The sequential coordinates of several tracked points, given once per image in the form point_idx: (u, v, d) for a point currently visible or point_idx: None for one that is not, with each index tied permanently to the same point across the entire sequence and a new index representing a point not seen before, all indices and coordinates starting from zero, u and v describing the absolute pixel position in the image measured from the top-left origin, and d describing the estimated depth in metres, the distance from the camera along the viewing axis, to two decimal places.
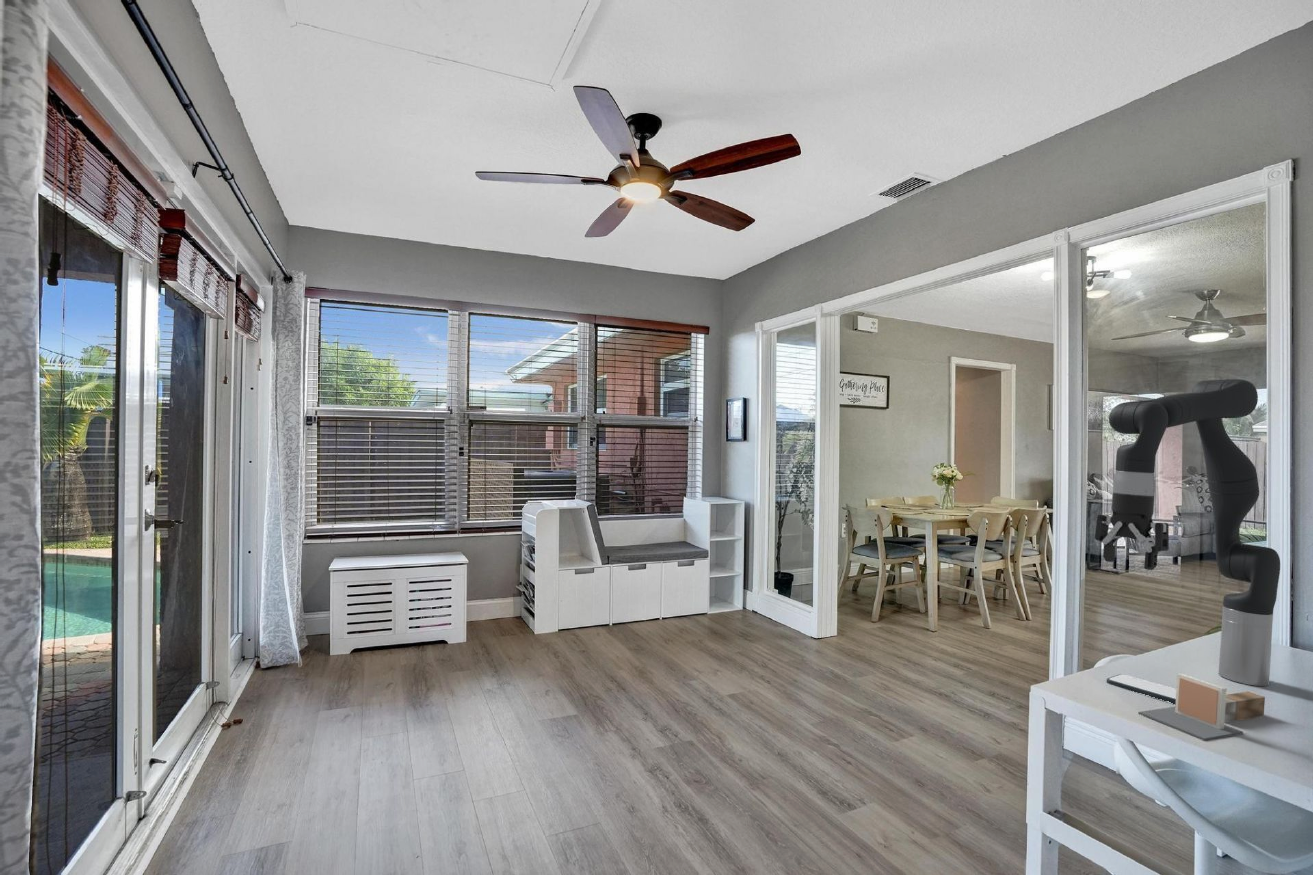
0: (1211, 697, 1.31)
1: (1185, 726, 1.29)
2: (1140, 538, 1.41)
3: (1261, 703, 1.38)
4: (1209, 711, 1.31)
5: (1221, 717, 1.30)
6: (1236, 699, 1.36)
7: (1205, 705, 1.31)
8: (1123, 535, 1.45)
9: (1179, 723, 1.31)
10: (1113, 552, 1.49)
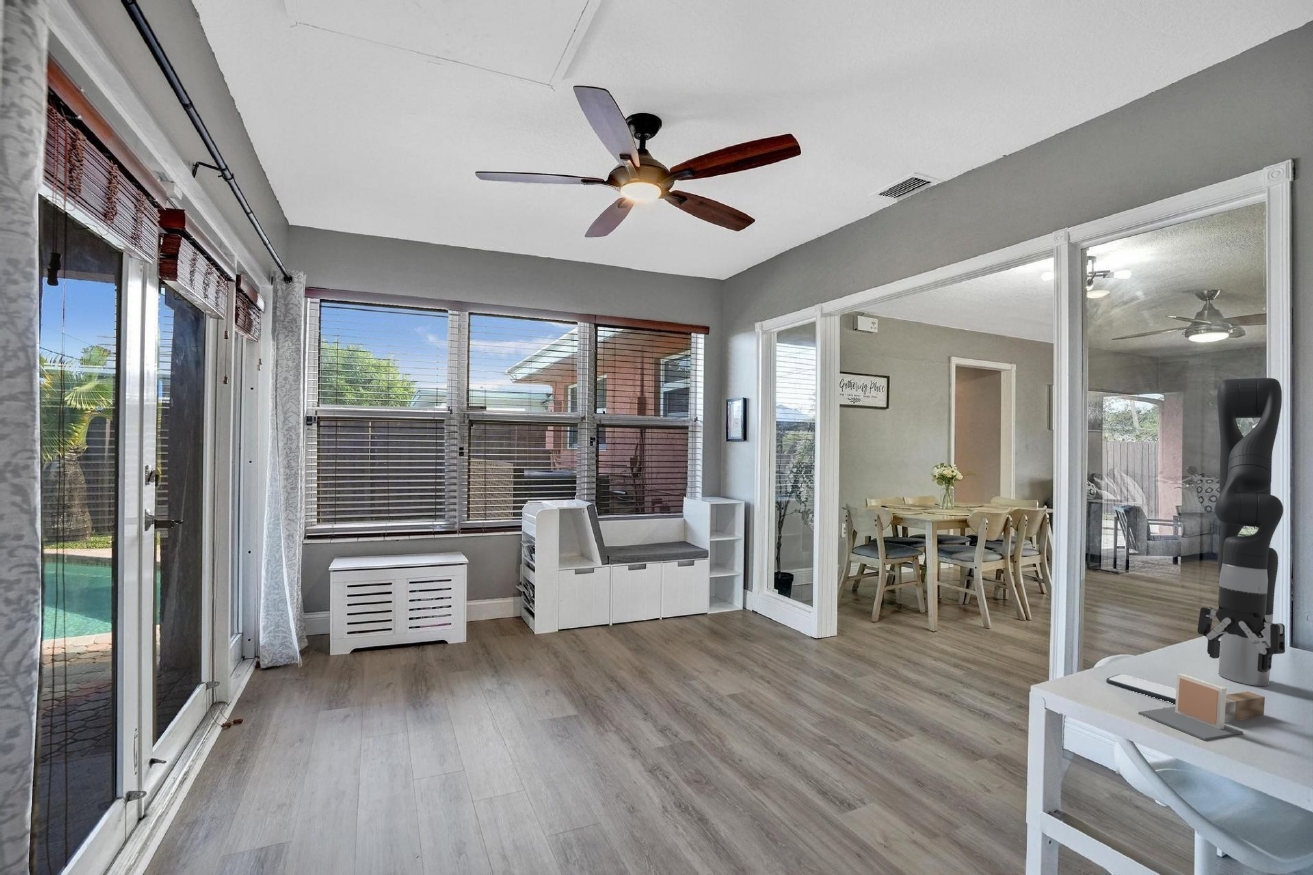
0: (1211, 697, 1.31)
1: (1185, 726, 1.29)
2: (1253, 638, 1.34)
3: (1261, 703, 1.38)
4: (1209, 711, 1.31)
5: (1221, 717, 1.30)
6: (1236, 699, 1.36)
7: (1205, 705, 1.31)
8: (1231, 632, 1.38)
9: (1179, 723, 1.31)
10: (1218, 648, 1.41)
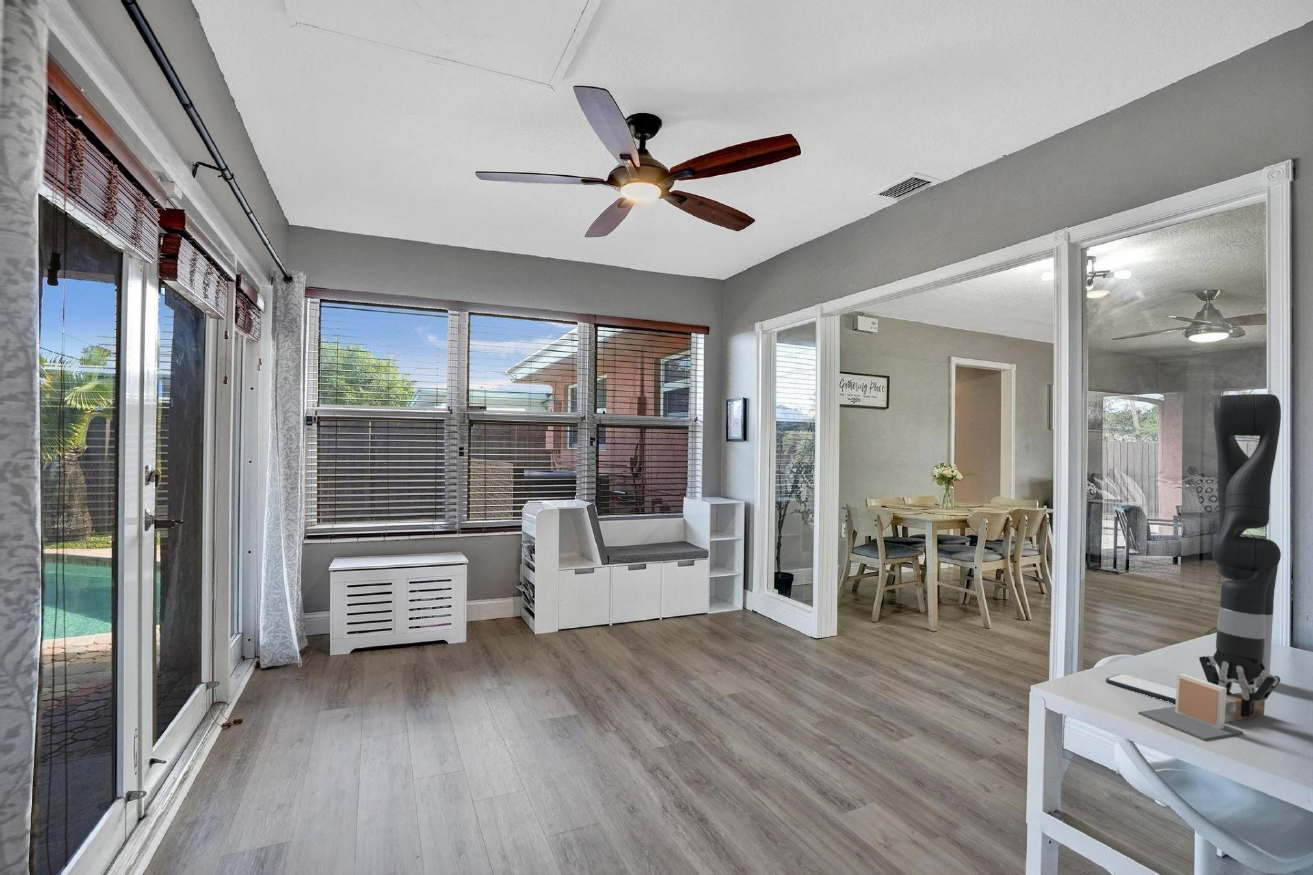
0: (1211, 697, 1.31)
1: (1185, 726, 1.29)
2: (1242, 684, 1.35)
3: (1262, 703, 1.38)
4: (1209, 711, 1.31)
5: (1221, 717, 1.30)
6: (1236, 699, 1.36)
7: (1205, 705, 1.31)
8: (1229, 676, 1.38)
9: (1179, 723, 1.31)
10: None
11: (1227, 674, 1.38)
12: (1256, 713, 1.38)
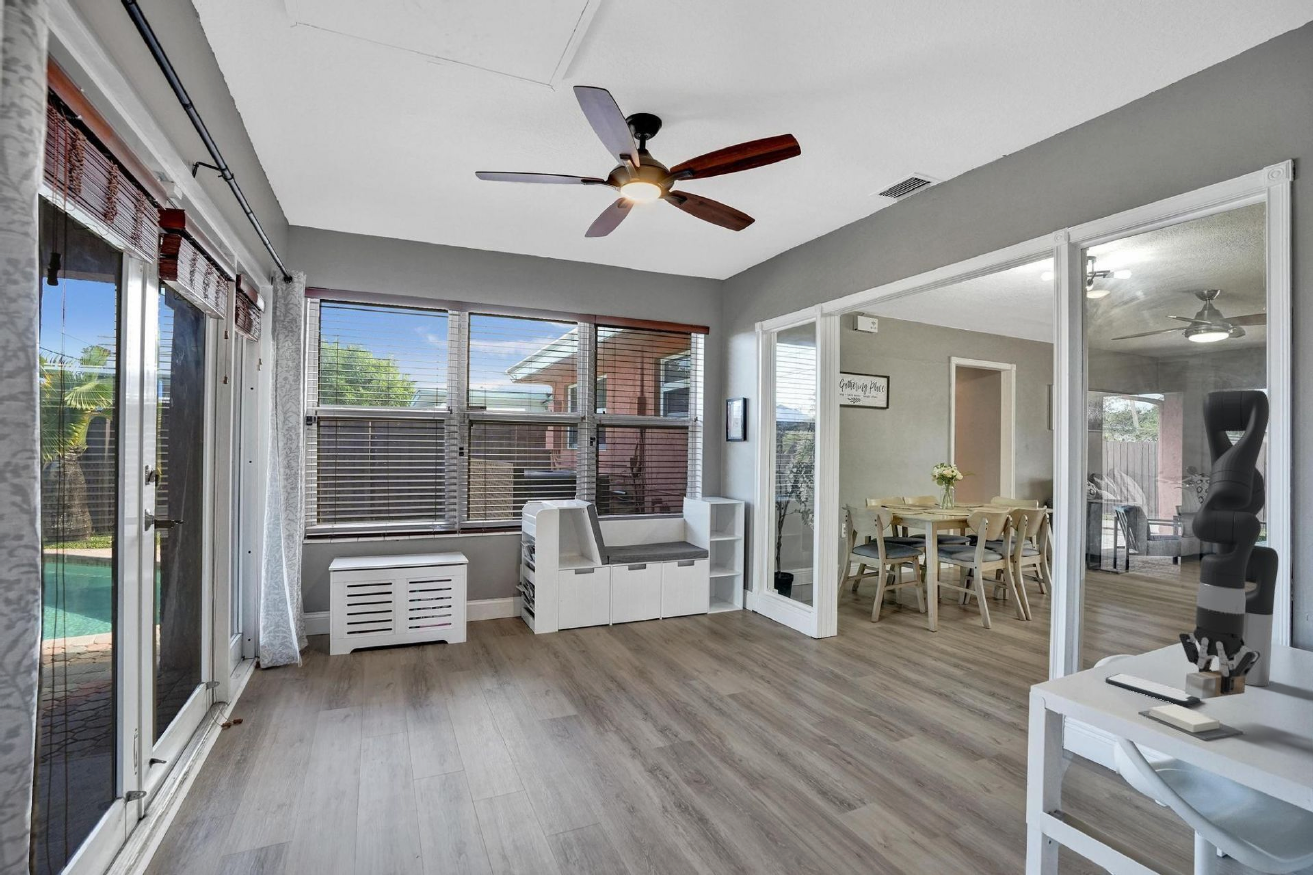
0: None
1: None
2: (1222, 660, 1.33)
3: (1242, 680, 1.36)
4: None
5: (1212, 726, 1.29)
6: (1216, 675, 1.34)
7: None
8: (1209, 652, 1.35)
9: None
10: None
11: (1207, 650, 1.35)
12: (1236, 690, 1.35)
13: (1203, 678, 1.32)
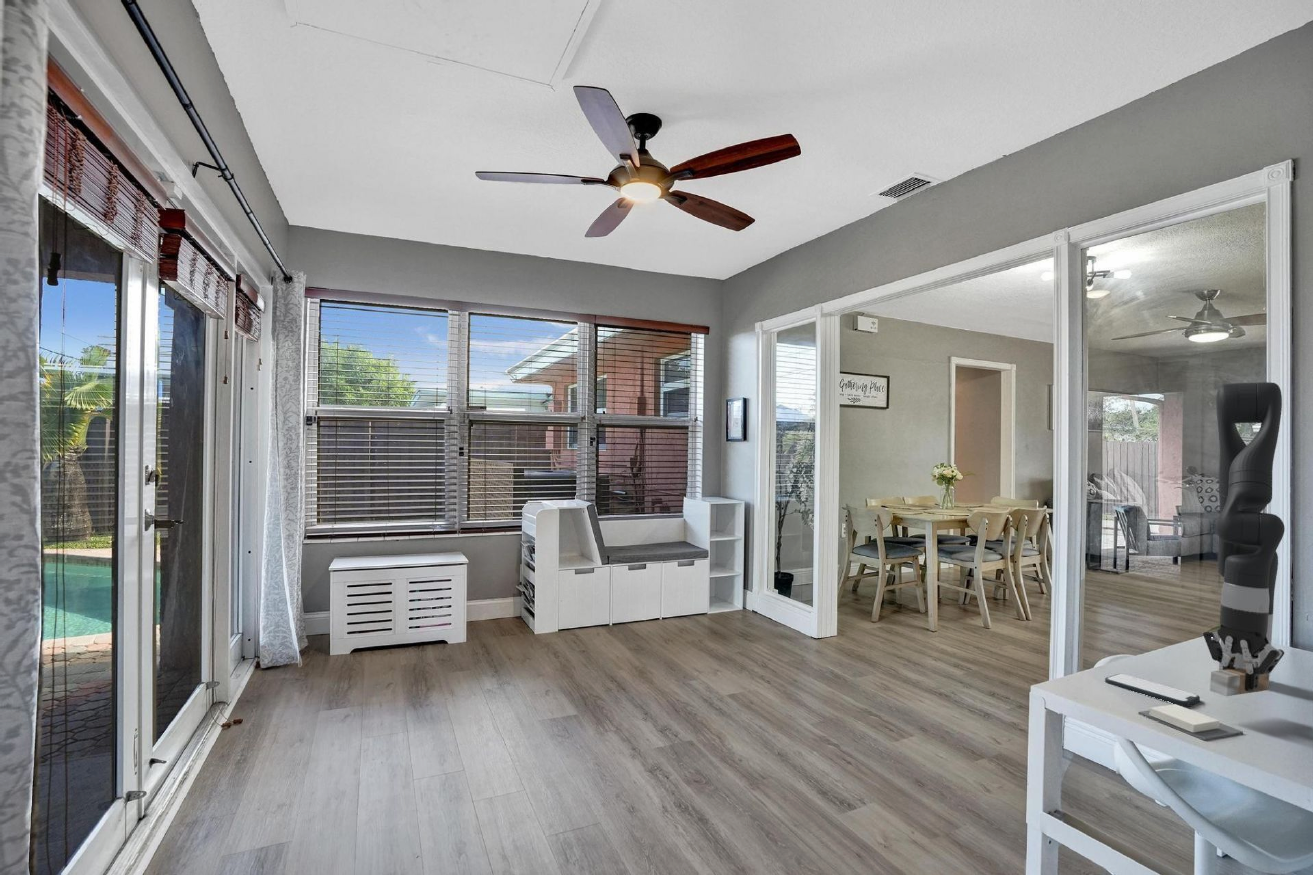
0: None
1: None
2: (1246, 658, 1.36)
3: (1265, 678, 1.39)
4: None
5: (1212, 726, 1.29)
6: (1240, 673, 1.37)
7: None
8: (1233, 650, 1.38)
9: None
10: None
11: (1231, 649, 1.38)
12: (1260, 687, 1.38)
13: (1228, 676, 1.35)
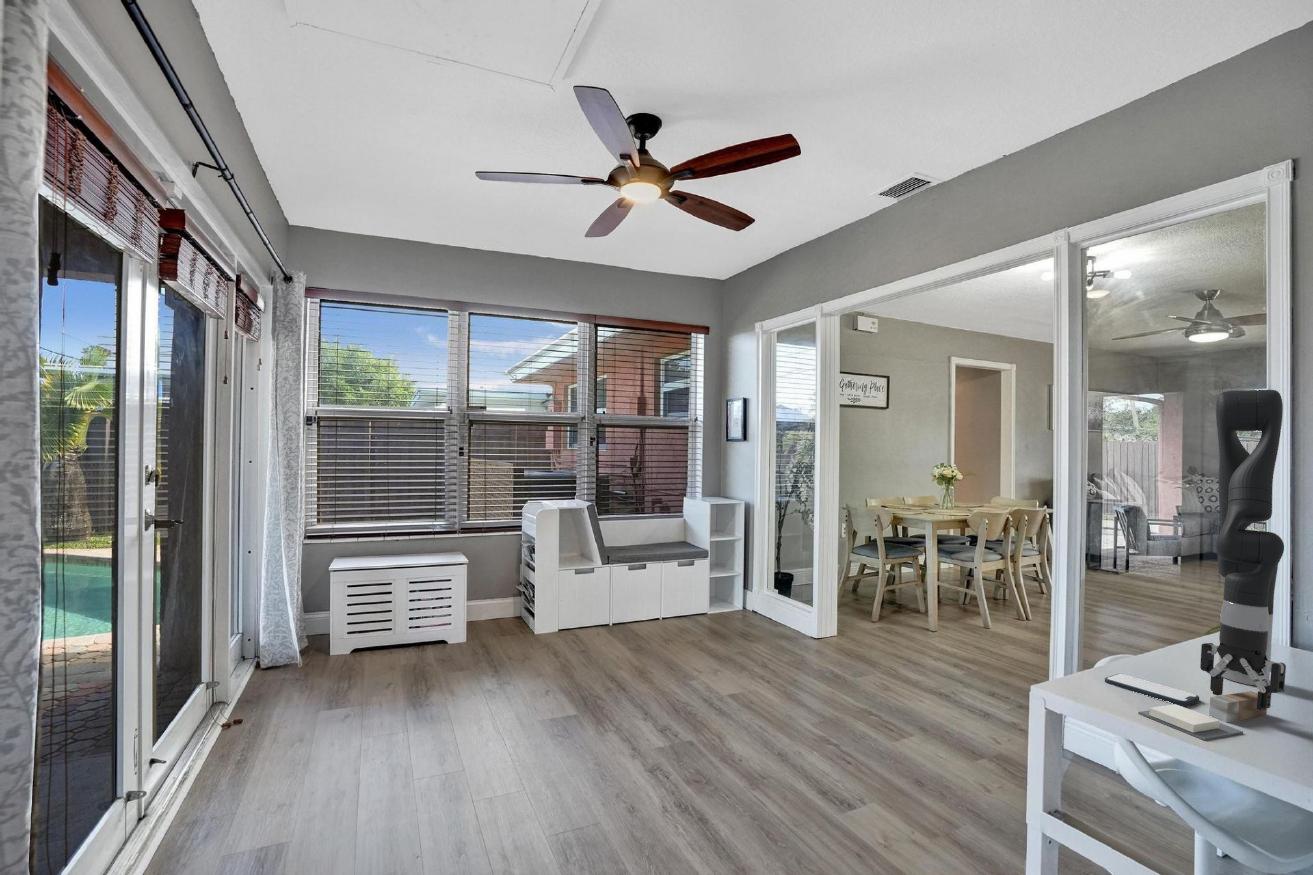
0: None
1: None
2: (1253, 676, 1.34)
3: None
4: None
5: (1212, 726, 1.29)
6: (1239, 699, 1.37)
7: None
8: (1233, 669, 1.38)
9: None
10: (1221, 685, 1.42)
11: (1226, 665, 1.39)
12: (1259, 713, 1.38)
13: (1227, 701, 1.35)
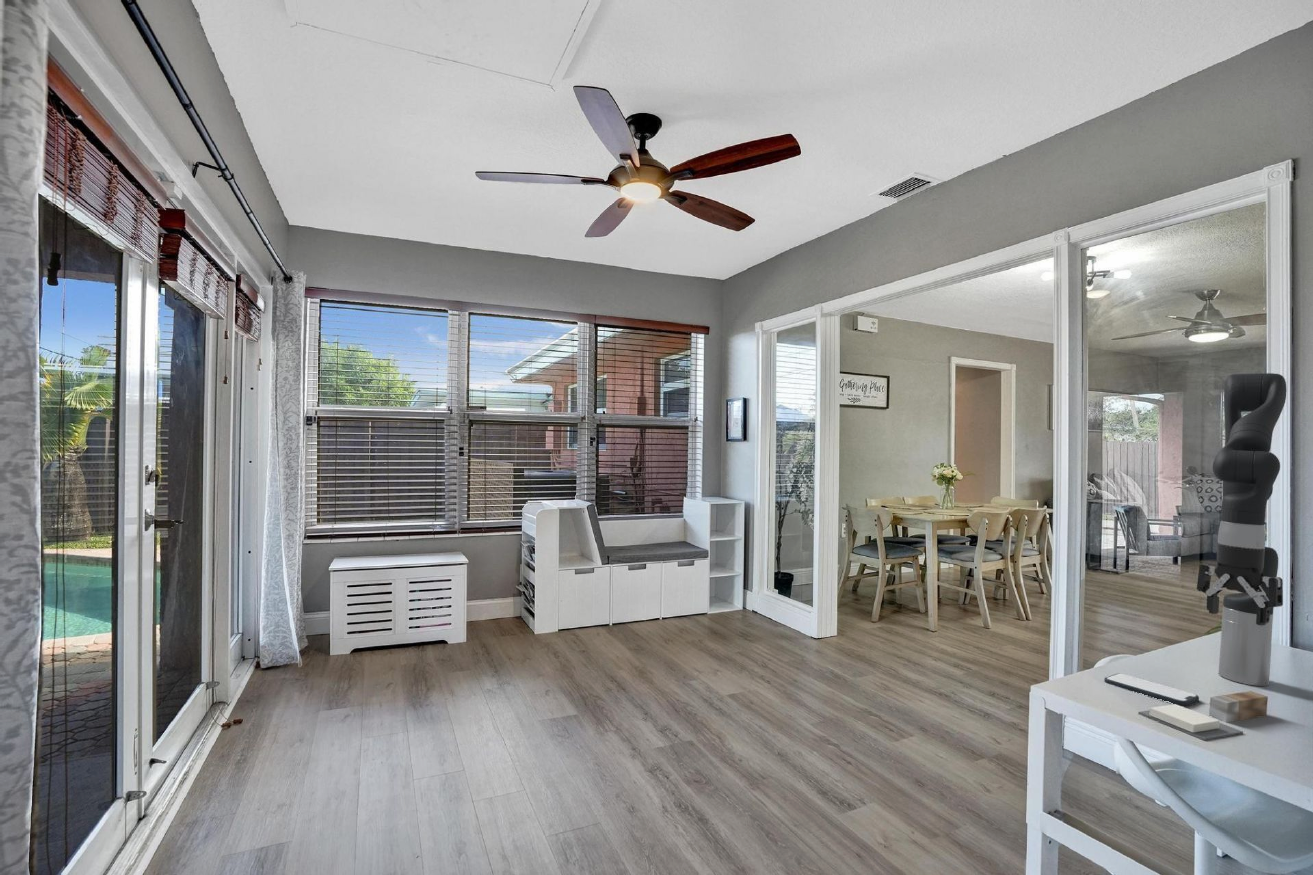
0: None
1: None
2: (1251, 592, 1.37)
3: (1264, 703, 1.39)
4: None
5: (1212, 726, 1.29)
6: (1239, 699, 1.37)
7: None
8: (1230, 588, 1.41)
9: None
10: (1217, 604, 1.44)
11: (1223, 584, 1.42)
12: (1259, 713, 1.38)
13: (1227, 701, 1.35)
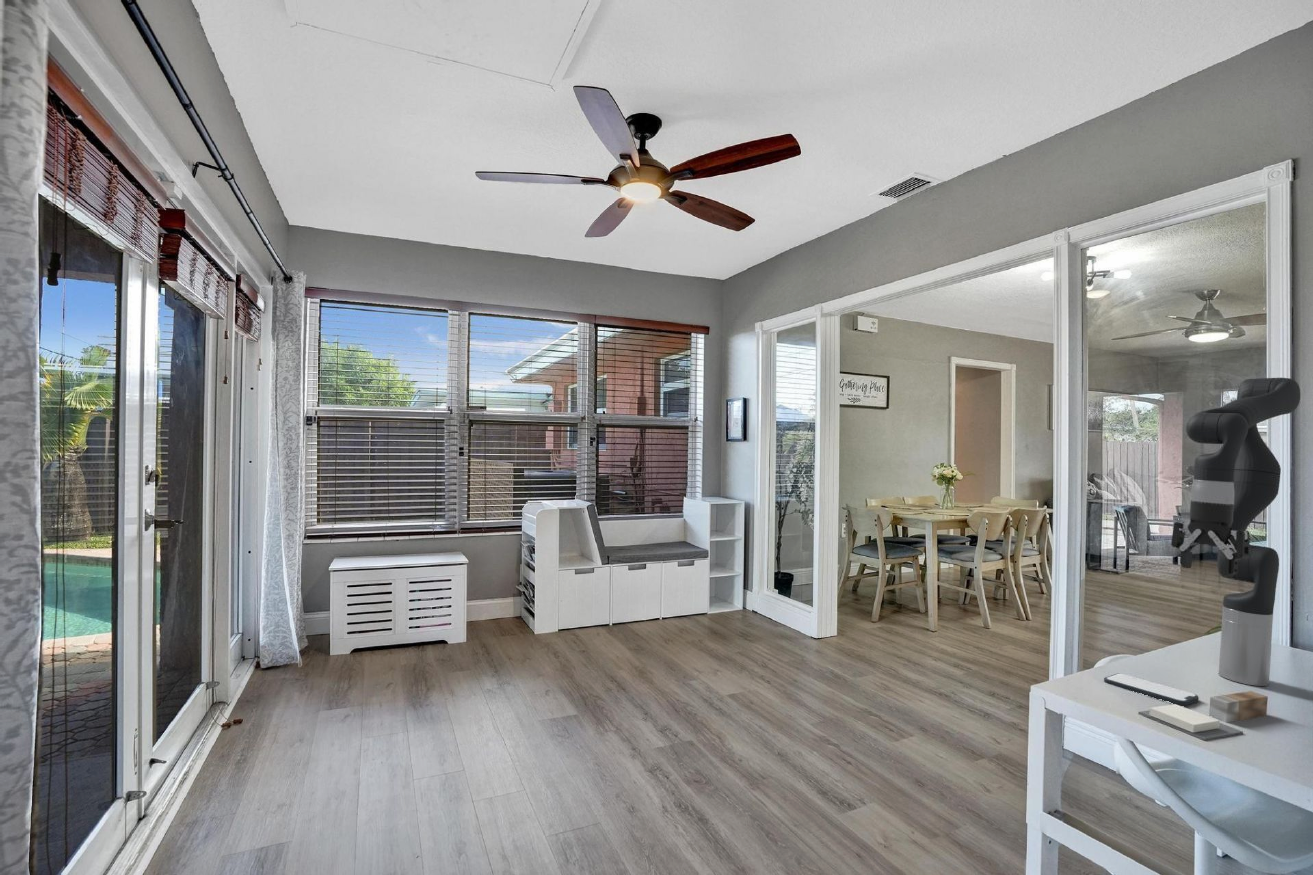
0: None
1: None
2: (1220, 545, 1.45)
3: (1264, 703, 1.39)
4: None
5: (1212, 726, 1.29)
6: (1239, 699, 1.37)
7: None
8: (1202, 542, 1.49)
9: None
10: (1190, 558, 1.53)
11: (1195, 539, 1.50)
12: (1259, 713, 1.38)
13: (1227, 701, 1.35)
